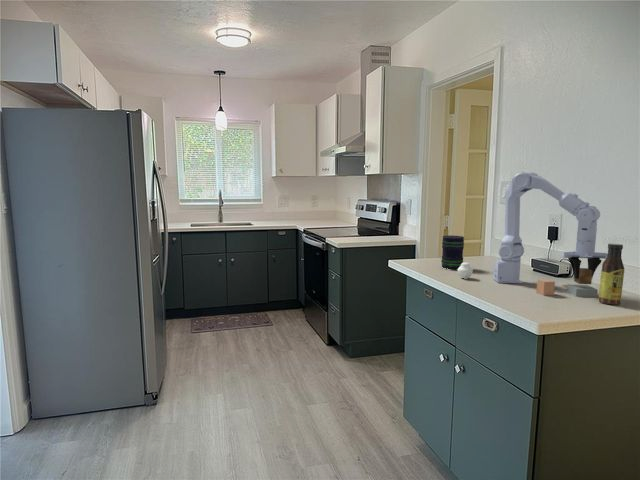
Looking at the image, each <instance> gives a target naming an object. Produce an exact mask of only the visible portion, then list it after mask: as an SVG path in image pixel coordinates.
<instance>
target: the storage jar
mask: <svg viewBox="0 0 640 480" xmlns="http://www.w3.org/2000/svg"><path fill="white" fill-rule="evenodd" d="M441 241H442V243H441V244H442V246H441V247H442V254H441V255H442V256H441V260H440V261H441V266H442V267H443V268H448V269H458V268H459V267H460V266H461V264H462V263H464V247H465V236H463V235H442V240H441ZM443 268H442V269H443Z"/></svg>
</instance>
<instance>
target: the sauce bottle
mask: <svg viewBox="0 0 640 480" xmlns="http://www.w3.org/2000/svg"><path fill="white" fill-rule="evenodd" d="M623 249H624V246H623V244H621V243H607V253H608V255H607V258H606V259H604V260H603V262H602V266H601V272H600V277H599V278H600V281H599V287H598V302H599V303H601V304H606V305H613V306H615V305H620V303H621V300H622V296H623V295H622V294H623V285H624V276H625V267H624V262H623V259H622V253H623V251H622V250H623Z"/></svg>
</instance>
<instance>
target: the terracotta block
mask: <svg viewBox="0 0 640 480" xmlns="http://www.w3.org/2000/svg"><path fill="white" fill-rule="evenodd" d="M555 283H556V282H555V281H553V280H552V279H548V278H546V279H545V278H543V279H541V278H540V279H539V278H538V279H537V280H536V294H539V295H541V296H544V297H546V296H555Z"/></svg>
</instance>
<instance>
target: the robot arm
mask: <svg viewBox="0 0 640 480" xmlns="http://www.w3.org/2000/svg"><path fill="white" fill-rule="evenodd" d="M533 189H535V190H540V191H542V192H544V193H545V194H548V195H549V196H550V197H552V198H554V199H555V200H557V201H558V204H559V205H558V206H559V207H560V208H562V209H564V210H565V211H567V212H568V213H570V214H572V215H573V217H575V218H576V220H577V221H578V222H577V231H576V245H575V251H562V252H561V258H564V259H568V262H569V263H570V266H571V269H572V273H573V274H572V275H573V278H574V277H575V278H578V277H579V269H580V268H581V264H582V260H581V259H587V268H588V269H590V270H592V278H593V277H594V275H595V272H596V270H597V269H598V267H599V265H601V263H602V259H603V260H606V258H607V255H608V252H597V251H595V250H596V242H597V240H596V239H597V233H598V232H597V230H598V227H597V226H598V220H599V219H600V217H601V213H600V210H599V209H598V208H597V207H596V206H594V205H590V203H589V202H587V201H586V202H585V201H584V200H582V199H581V198H579V197H578V196H579V195H578V194H577V193H571V192H569V193H565V192H564V191H562V190H561V189H560V188H558V187H557V186H556V185H554V184H553V183H551V182H550V181H548V180H547V179H546V178H544V177H543V176H541V175H539V174H537V173H535V172H525V171H523V172H522V171H521V172H518V173H517V174H515V175H514V176H513V177H511V181H510V184H509V186H508V187H507V188H506V191H505V203H504V204H505V205H504V207H505V209H504V212H505V213H504V237H503V238H502V240H501V241H500V242H501V243H500V247H499V249H498V256H500V259H495V261H494V266H493V267H494V269H493V277H492V278H493V279H494V281H496V283H501V284H503V283H504V284H523V281H522V280H520V277H521V262H522V261H521V260H522V259H521V257H522V256H523V255H524V253H525V248H524V245H523V239H522V237H520V226H521V225H520V224H521V223H520V221H521V218H520V216H521V214H520V213H521V197H522V196H523V195H525V193H527V192H528V191H531V190H533Z"/></svg>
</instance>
